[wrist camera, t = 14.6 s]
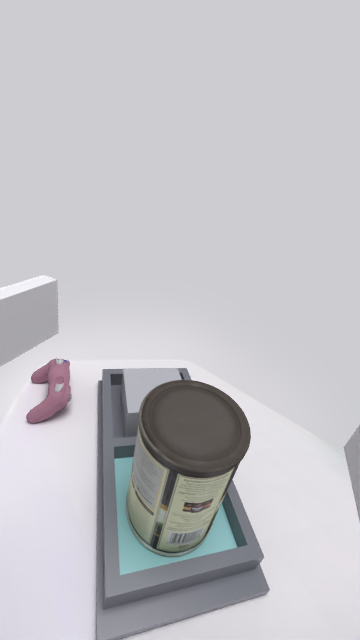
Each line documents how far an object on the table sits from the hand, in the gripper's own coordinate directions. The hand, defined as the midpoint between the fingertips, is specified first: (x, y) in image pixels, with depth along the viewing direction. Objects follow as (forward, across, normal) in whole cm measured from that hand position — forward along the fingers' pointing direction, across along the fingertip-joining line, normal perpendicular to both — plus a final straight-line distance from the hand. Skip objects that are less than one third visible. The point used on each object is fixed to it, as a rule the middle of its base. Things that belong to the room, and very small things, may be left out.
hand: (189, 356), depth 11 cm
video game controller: (+16, -23, -28) cm, 40 cm away
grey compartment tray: (+15, -3, -28) cm, 32 cm away
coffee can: (+10, 0, -27) cm, 29 cm away
